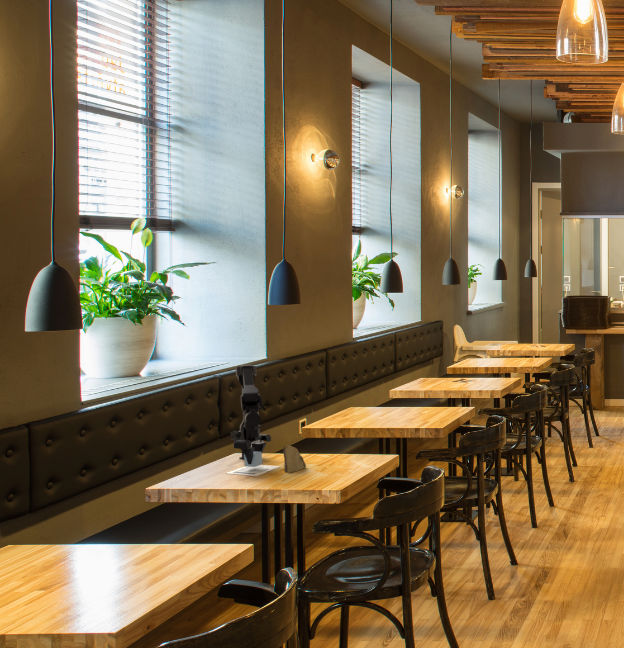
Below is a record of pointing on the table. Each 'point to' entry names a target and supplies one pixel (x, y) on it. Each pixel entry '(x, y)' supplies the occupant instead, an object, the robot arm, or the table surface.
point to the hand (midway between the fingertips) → (253, 463)
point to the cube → (254, 460)
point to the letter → (253, 470)
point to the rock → (293, 459)
